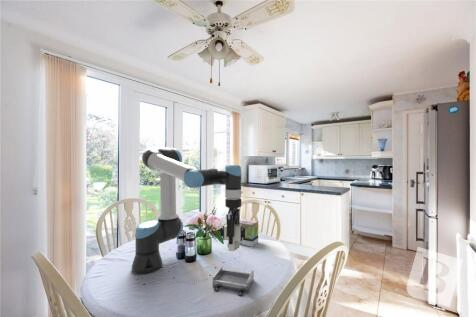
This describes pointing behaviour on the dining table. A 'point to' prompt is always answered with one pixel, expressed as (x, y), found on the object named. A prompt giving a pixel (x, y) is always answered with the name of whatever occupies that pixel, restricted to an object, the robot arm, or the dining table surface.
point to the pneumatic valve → (238, 233)
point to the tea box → (250, 232)
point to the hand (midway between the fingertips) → (233, 247)
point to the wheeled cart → (233, 281)
